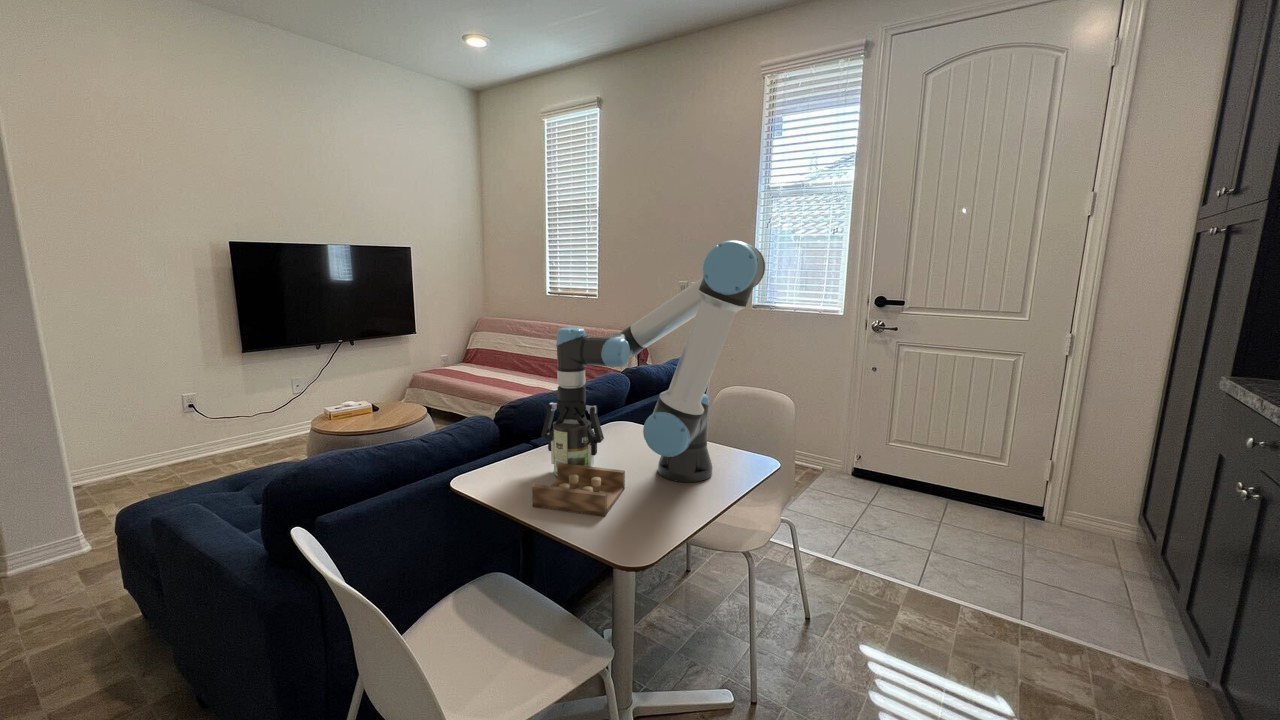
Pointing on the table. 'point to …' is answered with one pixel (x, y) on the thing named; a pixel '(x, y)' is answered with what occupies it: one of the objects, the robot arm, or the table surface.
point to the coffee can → (570, 443)
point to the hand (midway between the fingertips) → (572, 464)
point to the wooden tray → (581, 490)
